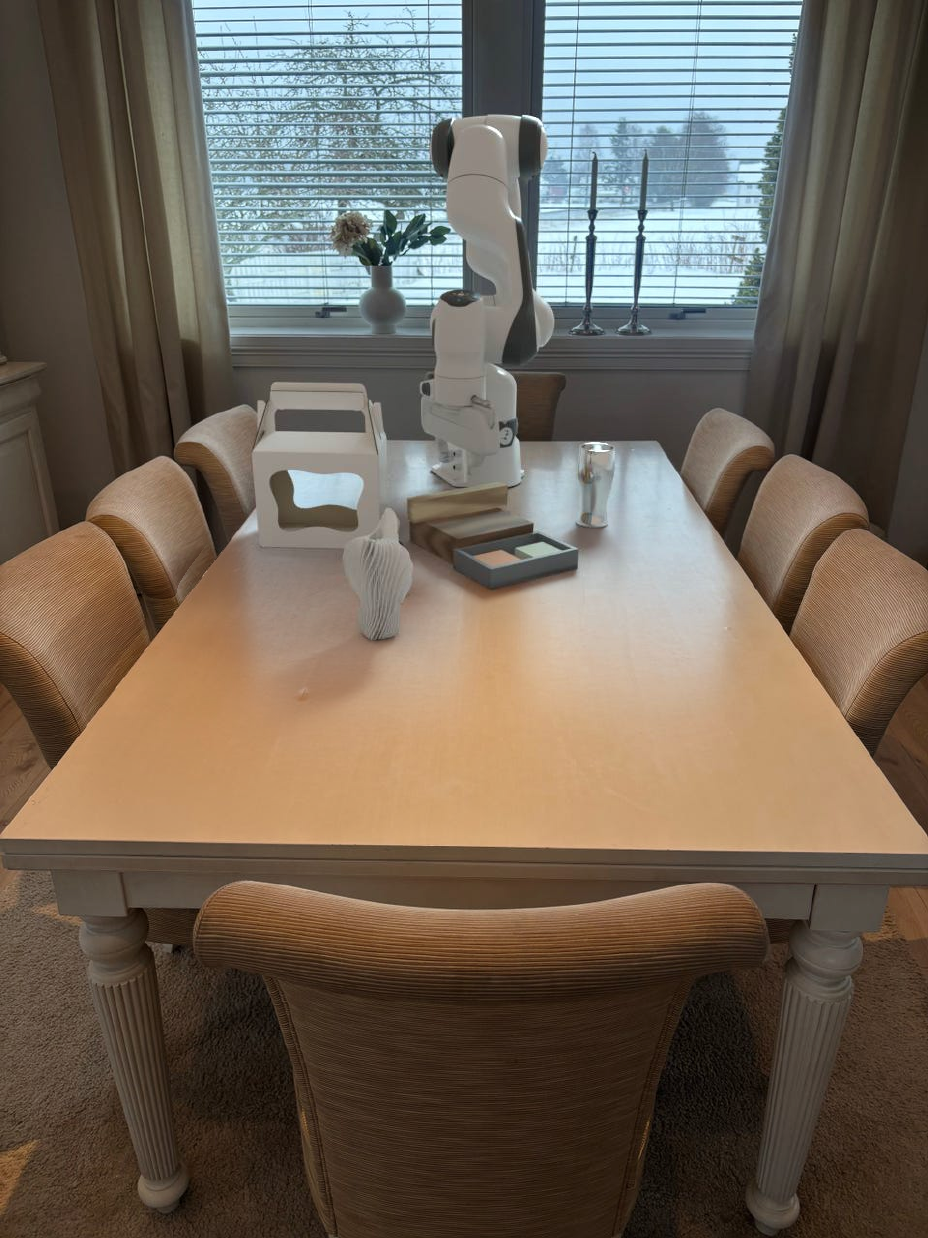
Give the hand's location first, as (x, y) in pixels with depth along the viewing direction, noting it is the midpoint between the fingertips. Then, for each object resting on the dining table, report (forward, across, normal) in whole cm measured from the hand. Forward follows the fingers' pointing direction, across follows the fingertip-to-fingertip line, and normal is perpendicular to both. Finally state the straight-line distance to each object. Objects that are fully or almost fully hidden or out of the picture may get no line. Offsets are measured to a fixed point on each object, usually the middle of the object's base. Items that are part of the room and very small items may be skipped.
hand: (459, 468), depth 166 cm
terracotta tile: (+10, -19, +5) cm, 22 cm away
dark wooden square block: (+13, -5, +1) cm, 14 cm away
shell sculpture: (+12, -30, +33) cm, 46 cm away
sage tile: (+10, -20, -4) cm, 22 cm away
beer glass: (+14, -7, -26) cm, 30 cm away
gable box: (+13, +13, +21) cm, 28 cm away
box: (+12, -19, +1) cm, 22 cm away
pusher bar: (+8, -1, 0) cm, 8 cm away
